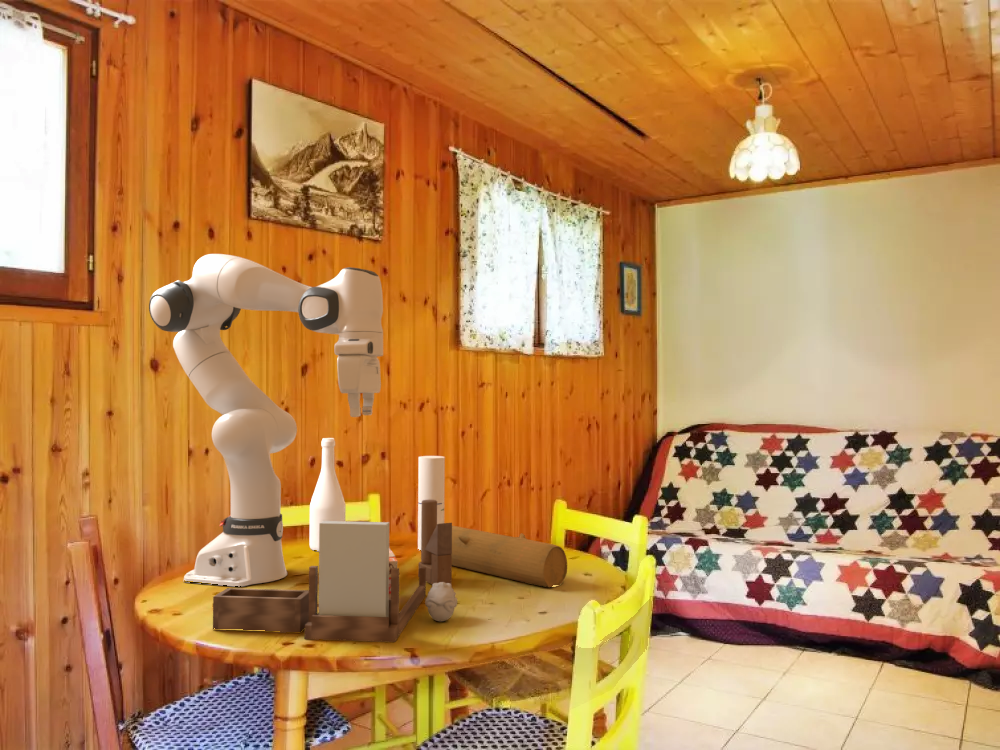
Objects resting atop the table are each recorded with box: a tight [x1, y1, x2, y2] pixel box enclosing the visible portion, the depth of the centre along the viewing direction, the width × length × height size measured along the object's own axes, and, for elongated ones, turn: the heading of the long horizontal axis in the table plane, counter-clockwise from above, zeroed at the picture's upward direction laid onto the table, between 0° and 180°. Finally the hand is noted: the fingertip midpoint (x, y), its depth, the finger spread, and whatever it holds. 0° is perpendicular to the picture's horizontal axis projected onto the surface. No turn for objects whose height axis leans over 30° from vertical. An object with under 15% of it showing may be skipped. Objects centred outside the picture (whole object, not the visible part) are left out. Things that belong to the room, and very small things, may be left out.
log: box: [451, 525, 568, 588], centre depth 182 cm, size 38×10×10 cm, turn 47°
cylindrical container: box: [417, 455, 446, 551], centre depth 209 cm, size 7×7×25 cm
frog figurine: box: [424, 582, 458, 622], centre depth 145 cm, size 6×7×7 cm
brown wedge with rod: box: [418, 500, 453, 586], centre depth 173 cm, size 4×11×18 cm, turn 29°
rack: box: [304, 565, 427, 643], centre depth 148 cm, size 16×30×12 cm, turn 175°
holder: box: [212, 587, 309, 633], centre depth 140 cm, size 16×6×6 cm, turn 85°
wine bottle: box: [308, 437, 347, 552], centre depth 208 cm, size 10×10×30 cm
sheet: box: [318, 520, 390, 617], centre depth 136 cm, size 12×2×20 cm, turn 85°
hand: (361, 416), depth 154 cm, fingers open, 8 cm apart
